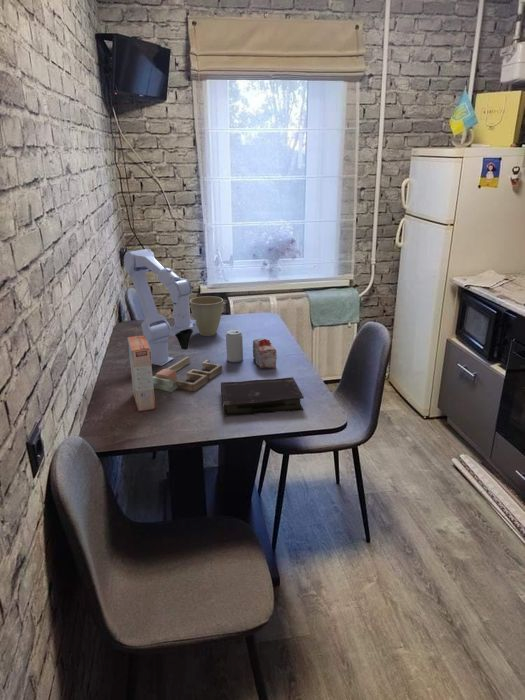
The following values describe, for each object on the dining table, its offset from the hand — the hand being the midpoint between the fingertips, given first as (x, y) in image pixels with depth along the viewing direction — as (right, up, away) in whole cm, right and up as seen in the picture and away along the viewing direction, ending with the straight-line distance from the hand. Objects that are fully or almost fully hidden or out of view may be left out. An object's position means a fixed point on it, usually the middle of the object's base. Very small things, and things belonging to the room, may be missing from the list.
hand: (184, 348), depth 180 cm
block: (-5, -13, -7) cm, 15 cm away
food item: (+29, -6, +10) cm, 32 cm away
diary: (+28, -18, -20) cm, 39 cm away
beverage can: (+18, -5, +14) cm, 23 cm away
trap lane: (+2, -11, -1) cm, 11 cm away
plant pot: (+4, +7, +45) cm, 46 cm away
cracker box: (-10, -18, -19) cm, 28 cm away
